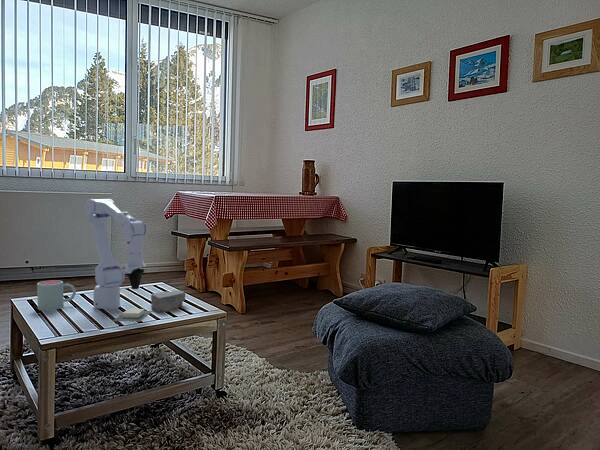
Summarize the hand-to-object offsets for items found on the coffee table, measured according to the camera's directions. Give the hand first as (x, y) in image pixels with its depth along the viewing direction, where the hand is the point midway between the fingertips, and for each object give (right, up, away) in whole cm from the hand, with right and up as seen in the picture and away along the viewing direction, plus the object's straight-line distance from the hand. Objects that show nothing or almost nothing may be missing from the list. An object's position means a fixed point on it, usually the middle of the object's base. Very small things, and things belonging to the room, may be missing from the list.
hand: (135, 288), depth 181 cm
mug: (-35, -9, +11) cm, 38 cm away
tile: (0, -9, +1) cm, 9 cm away
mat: (0, -11, -1) cm, 11 cm away
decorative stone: (+9, -10, +11) cm, 17 cm away
